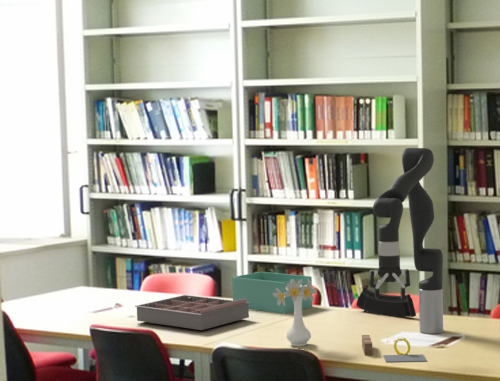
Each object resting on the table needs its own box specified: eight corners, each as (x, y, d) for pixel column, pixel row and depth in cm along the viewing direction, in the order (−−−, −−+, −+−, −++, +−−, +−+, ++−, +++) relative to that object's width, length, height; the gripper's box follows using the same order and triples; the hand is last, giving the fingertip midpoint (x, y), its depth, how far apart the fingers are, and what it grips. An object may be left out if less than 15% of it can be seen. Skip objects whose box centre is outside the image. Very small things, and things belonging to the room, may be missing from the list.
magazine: (420, 298, 371) (367, 272, 392) (416, 299, 369) (362, 273, 389) (412, 334, 376) (359, 307, 396) (407, 336, 374) (355, 308, 394)
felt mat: (383, 356, 309) (383, 355, 309) (423, 355, 309) (423, 354, 309) (386, 362, 300) (386, 361, 300) (426, 361, 300) (426, 360, 300)
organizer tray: (185, 311, 407) (184, 290, 406) (251, 320, 381) (250, 298, 381) (134, 324, 382) (133, 301, 381) (202, 334, 356) (201, 310, 356)
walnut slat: (362, 347, 325) (361, 335, 325) (369, 346, 325) (369, 334, 325) (364, 356, 311) (364, 343, 311) (372, 355, 311) (372, 343, 311)
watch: (393, 354, 312) (392, 338, 312) (397, 353, 314) (395, 336, 314) (408, 355, 308) (406, 338, 308) (412, 354, 311) (410, 337, 311)
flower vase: (269, 347, 328) (267, 281, 327) (301, 338, 341) (299, 275, 340) (296, 352, 319) (293, 284, 318) (327, 342, 332) (325, 278, 331)
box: (284, 314, 393) (283, 282, 393) (233, 307, 415) (232, 277, 414) (312, 307, 409) (311, 276, 408) (261, 300, 430) (260, 271, 429)
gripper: (407, 252, 315) (408, 296, 316) (367, 253, 315) (368, 297, 316) (410, 254, 308) (411, 300, 308) (370, 255, 308) (371, 301, 309)
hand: (390, 298), depth 312 cm, fingers open, 8 cm apart
